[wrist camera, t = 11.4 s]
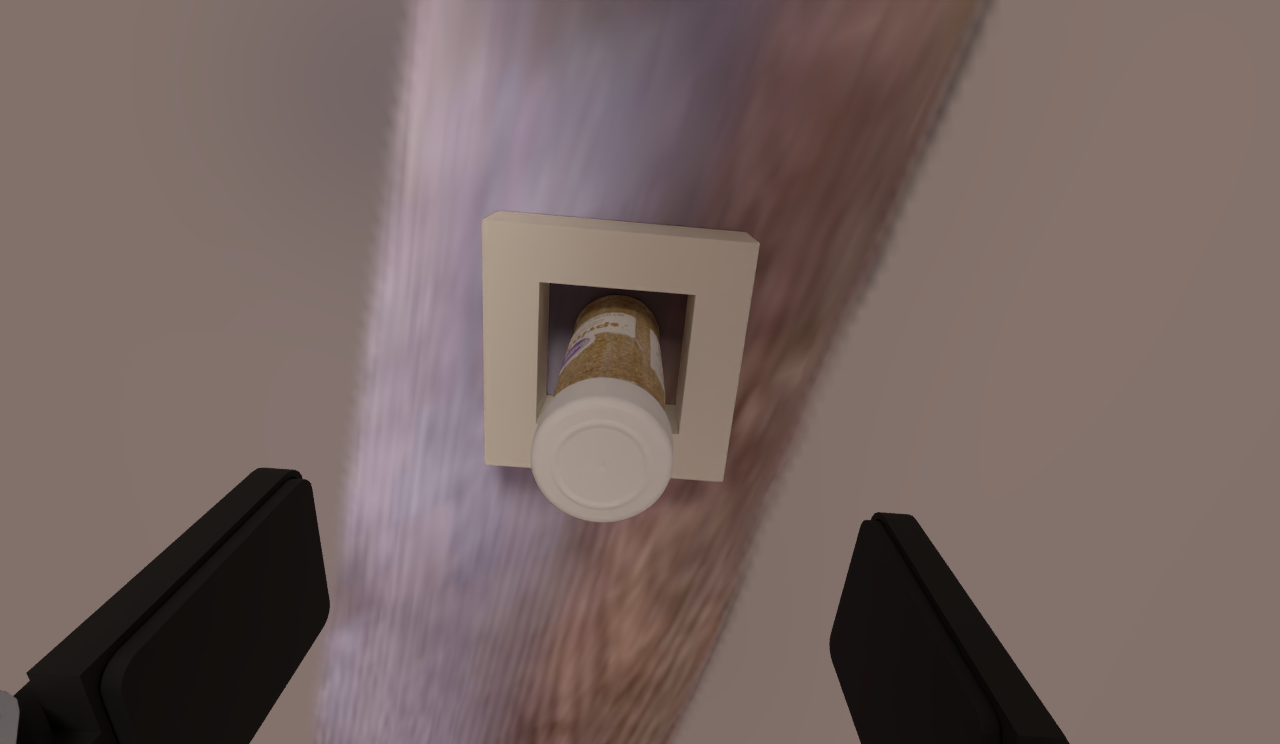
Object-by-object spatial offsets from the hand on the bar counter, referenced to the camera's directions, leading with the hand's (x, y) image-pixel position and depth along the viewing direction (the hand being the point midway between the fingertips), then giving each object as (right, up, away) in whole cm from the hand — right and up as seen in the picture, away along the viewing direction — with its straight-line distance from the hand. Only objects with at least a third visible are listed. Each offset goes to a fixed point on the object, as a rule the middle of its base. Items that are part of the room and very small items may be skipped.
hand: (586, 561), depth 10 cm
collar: (0, +5, +21) cm, 21 cm away
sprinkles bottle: (0, +5, +21) cm, 22 cm away
